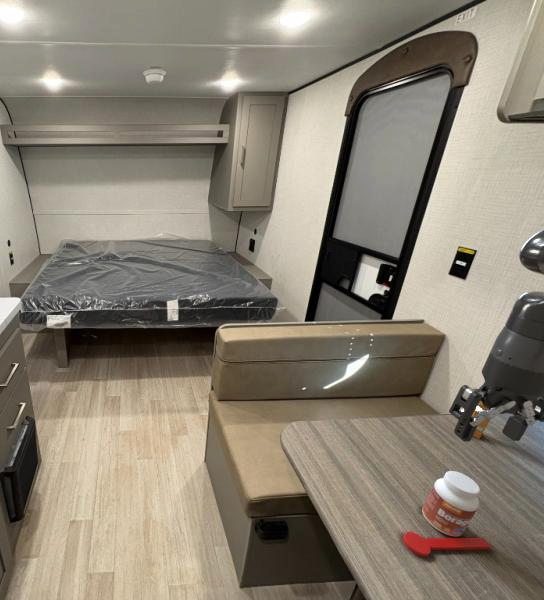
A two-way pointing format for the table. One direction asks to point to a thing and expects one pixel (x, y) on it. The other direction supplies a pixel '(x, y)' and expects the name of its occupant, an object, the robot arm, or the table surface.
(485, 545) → the spoon
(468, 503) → the pill bottle
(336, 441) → the table surface
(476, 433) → the supplement box
